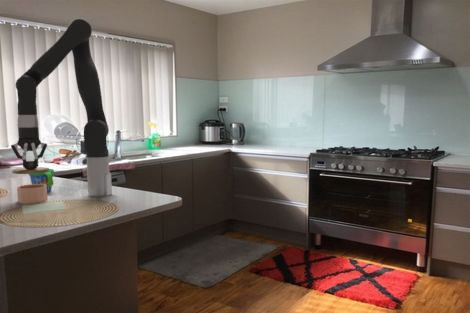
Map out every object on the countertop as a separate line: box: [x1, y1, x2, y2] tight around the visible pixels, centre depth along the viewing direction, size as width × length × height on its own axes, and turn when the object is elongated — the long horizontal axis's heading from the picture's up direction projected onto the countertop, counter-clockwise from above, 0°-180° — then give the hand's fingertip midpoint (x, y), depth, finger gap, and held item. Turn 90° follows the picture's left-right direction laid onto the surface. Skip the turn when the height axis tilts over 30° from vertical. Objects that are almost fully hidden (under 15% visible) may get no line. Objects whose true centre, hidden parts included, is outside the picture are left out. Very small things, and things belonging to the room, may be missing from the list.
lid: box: [11, 160, 50, 175], centre depth 170 cm, size 14×14×4 cm
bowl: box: [16, 183, 49, 205], centre depth 171 cm, size 11×11×6 cm
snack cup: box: [28, 168, 55, 193], centre depth 192 cm, size 16×10×10 cm
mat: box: [21, 200, 68, 215], centre depth 159 cm, size 15×15×1 cm
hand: (30, 168), depth 170 cm, fingers closed on lid, 3 cm apart
